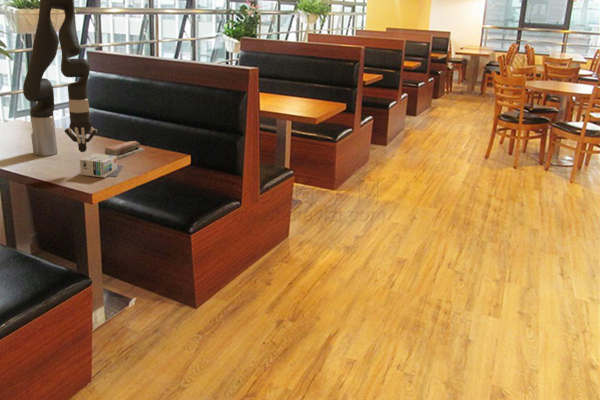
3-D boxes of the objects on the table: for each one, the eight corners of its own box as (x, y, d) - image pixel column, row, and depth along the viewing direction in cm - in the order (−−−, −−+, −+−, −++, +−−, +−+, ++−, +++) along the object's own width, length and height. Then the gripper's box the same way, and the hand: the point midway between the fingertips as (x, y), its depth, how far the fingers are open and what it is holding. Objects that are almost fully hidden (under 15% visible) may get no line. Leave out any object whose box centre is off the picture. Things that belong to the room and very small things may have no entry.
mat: (86, 176, 227) (86, 175, 227) (94, 165, 240) (94, 165, 240) (116, 176, 228) (116, 175, 228) (123, 166, 241) (123, 165, 241)
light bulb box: (80, 175, 227) (104, 178, 225) (78, 159, 224) (103, 162, 222) (94, 167, 236) (118, 170, 235) (93, 152, 234) (117, 155, 232)
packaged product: (117, 150, 248) (100, 146, 252) (118, 160, 250) (101, 157, 254) (144, 141, 263) (128, 138, 267) (145, 151, 265) (128, 148, 269)
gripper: (59, 111, 219) (63, 154, 225) (94, 112, 220) (97, 154, 226) (64, 107, 226) (68, 148, 232) (98, 108, 227) (101, 149, 233)
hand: (83, 151), depth 229 cm, fingers closed
